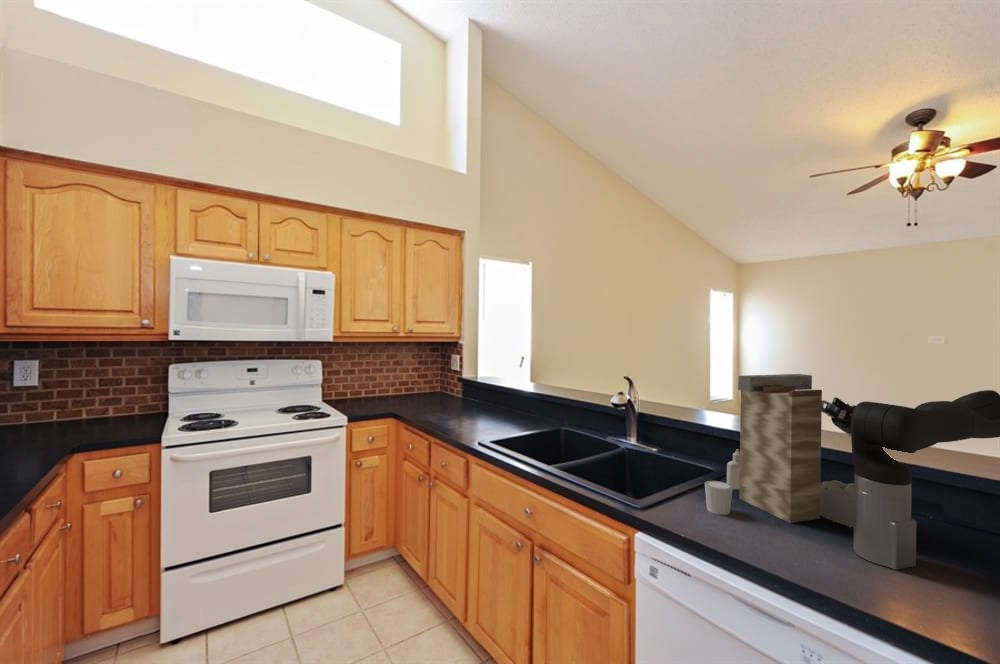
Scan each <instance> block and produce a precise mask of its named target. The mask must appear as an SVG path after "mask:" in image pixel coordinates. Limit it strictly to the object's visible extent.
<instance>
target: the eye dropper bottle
mask: <svg viewBox="0 0 1000 664" xmlns="http://www.w3.org/2000/svg"><path fill="white" fill-rule="evenodd" d="M726 483H727V484H730V485H731V486H733V490H732V491H734V490H735V491H739V486H740V449H738V448H737V449H735V452H733V453H732V460H730V461H728V462H727V463H726Z"/></svg>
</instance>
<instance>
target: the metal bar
mask: <svg viewBox="0 0 1000 664" xmlns="http://www.w3.org/2000/svg"><path fill="white" fill-rule="evenodd" d="M737 380H738V385H737V386H738V387H737V388H738V391H741V390H742V391H748V392H760V391H763V387H771V386H795V391H797V390H813V376H812V374H811V375H810V374H801V373H792V374H791V373H790V374H788V373H787V374H785V373H784V374H755V375H754V374H750V375H748V374H747V375H738V379H737Z"/></svg>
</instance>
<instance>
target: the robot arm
mask: <svg viewBox="0 0 1000 664" xmlns="http://www.w3.org/2000/svg"><path fill="white" fill-rule="evenodd" d="M825 404H826V406H825ZM824 406H825V407H824ZM822 414H826V415H827V416H828V417H830V419H831V421H832V424H833V425H834V426H835V427H836V428H838V429H840V430H841V431H842V432H844V433H845V434H846V435H848V436H849V437H851V458H852V463H853V466H854V528H853V539H852V540H853V546H852V547H853V552H854V553H855V555H857V556H859V557H860V558H862V559H864V560H866V561H869V562H870V563H874V564H877V565H880V566H884V567H887V568H890V569H892V570H895V571H897V570H900V569H901V570H902V569H907V568H910V567H911V568H912V567H916V565H917V521H916V520H915V519H913V518H912V484H913V483H912V480H913V479H912V478H913V473H912V470H911V469H910V468H909V467H908V466H906V465H904V464H903V463H902V462H901V463H899V462H898V461H896V460H894V459H893V458H891V457H890V456H889V455H888V454H887V453H886V452H885V451H884V450H883V448H882V447H885V448H887V449H891V450H897V451H902V452H908V453H914V454H915V453H917V451H921V450H923V449H926V448H930V447H932V446H935V445H937V444H939V443H950V442H951V443H952V442H959V441H964V440H969V439H995V438H997V439H998V438H1000V394H999V392H997V391H996V390H990V389H984V390H978V391H975V392H971V393H968V394H964V395H962V396H959V397H958V398H957V399H954V400H951V401H949V400H938V401H934V400H933V401H927V402H924V403H920V404H919V405H917V406H915V407H914V408H912V407H909V406H904V405H903V406H902V405H897V404H889V403H884V402H883V403H882V402H876V401H861V402H859V403H858V404H856V405H854V404H853V405H850V403H847V402H844V401H843V400H842V399H840V398H839V397H834V398H833V399H832V402H829V401H827V400H824V399H822Z"/></svg>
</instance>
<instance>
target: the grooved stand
mask: <svg viewBox="0 0 1000 664" xmlns="http://www.w3.org/2000/svg"><path fill="white" fill-rule="evenodd" d="M822 400H823V390H822V389H810V390H795V386H771V387H763V391H760V392H748V391H742V390H740V420H739V421H740V422H739V424H740V425H739V426H740V427H739V430H740V431H739V433H740V434H739V435H740V436H739V453H740V486H739V490H738V491H739V492H738V493H739V494H738V495H739V496H738V497H739V498H738V499H739V500H741V501H743V502H745V503H747V504H750V505H751V506H754V507H755V508H757V509H761V510H762V511H764V512H767V513H769V514H771V515H772V516H775V517H777V518H779V519H781V520H783V521H785V522H787V523H789V524H791V523H797V522H798V523H799V522H805V521H806V522H807V521H812V520H813V521H814V520H819V519H821V515H820V487H821V482H822V481H821V476H822V475H821V474H822V473H821V471H822V468H821V467H822V419H823V418H822V414H823V412H822Z"/></svg>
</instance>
